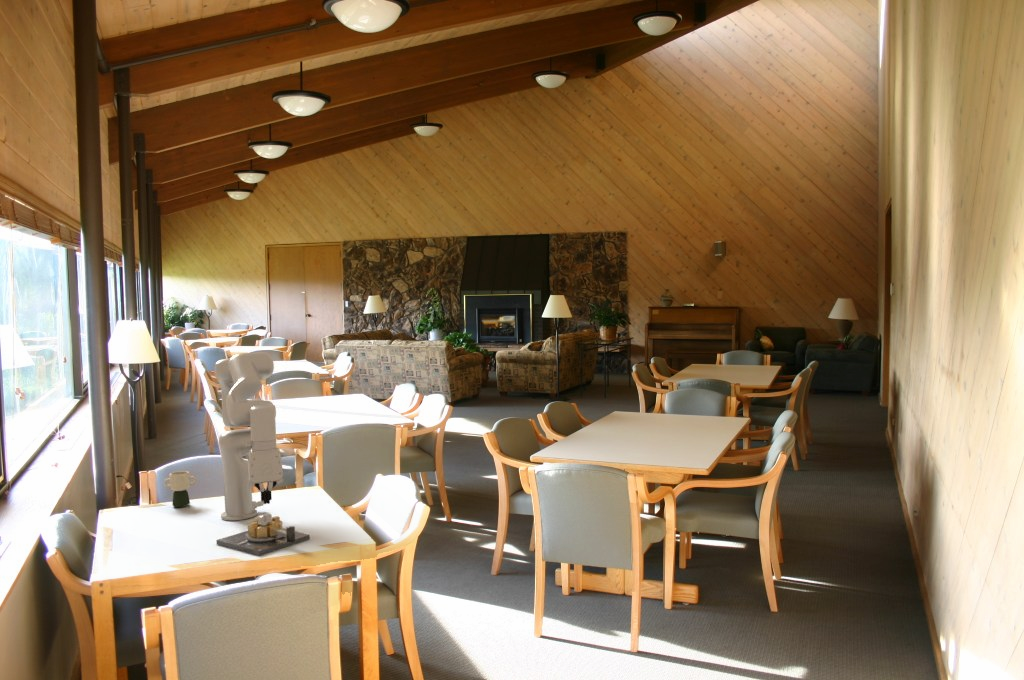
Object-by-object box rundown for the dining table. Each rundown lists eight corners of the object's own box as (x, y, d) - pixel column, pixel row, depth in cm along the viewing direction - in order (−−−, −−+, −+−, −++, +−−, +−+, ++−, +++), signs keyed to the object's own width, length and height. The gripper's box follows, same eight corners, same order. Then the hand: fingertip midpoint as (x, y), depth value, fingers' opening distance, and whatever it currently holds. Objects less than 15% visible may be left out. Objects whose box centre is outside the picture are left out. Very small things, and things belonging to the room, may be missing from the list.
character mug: (197, 502, 334) (195, 469, 334) (195, 507, 328) (193, 473, 327) (167, 505, 331) (165, 472, 331) (165, 510, 325) (163, 476, 324)
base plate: (267, 529, 295) (266, 504, 294) (309, 539, 282) (308, 513, 281) (216, 544, 279) (215, 518, 278) (258, 556, 266) (257, 529, 265)
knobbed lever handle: (242, 534, 280) (241, 521, 280) (270, 527, 288) (269, 514, 288) (279, 545, 267) (278, 531, 267) (307, 537, 275) (306, 523, 275)
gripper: (240, 450, 259) (243, 509, 261) (290, 445, 265) (292, 502, 267) (237, 445, 266) (240, 502, 268) (286, 440, 272) (288, 496, 274)
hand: (266, 502), depth 268 cm, fingers closed
